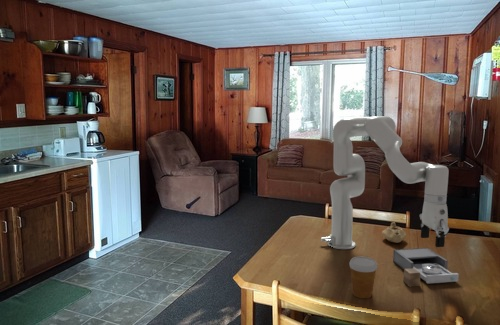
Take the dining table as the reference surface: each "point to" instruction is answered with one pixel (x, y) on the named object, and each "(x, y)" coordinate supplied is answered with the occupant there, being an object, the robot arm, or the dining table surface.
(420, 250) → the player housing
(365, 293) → the disposable coffee cup
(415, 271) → the walnut block
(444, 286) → the dining table surface
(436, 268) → the silver disc
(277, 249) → the dining table surface
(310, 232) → the dining table surface
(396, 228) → the oil lamp
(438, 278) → the tray
